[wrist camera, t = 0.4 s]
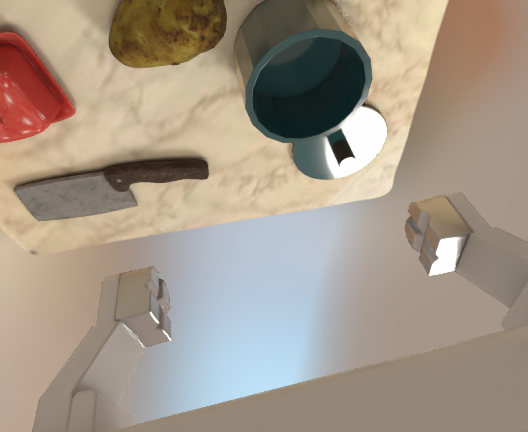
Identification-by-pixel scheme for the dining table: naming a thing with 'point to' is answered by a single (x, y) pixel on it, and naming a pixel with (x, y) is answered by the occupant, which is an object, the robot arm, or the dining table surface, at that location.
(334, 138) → the lid
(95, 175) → the cleaver
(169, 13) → the potato
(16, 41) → the butter dish
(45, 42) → the dining table surface
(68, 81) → the dining table surface
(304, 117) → the pot
